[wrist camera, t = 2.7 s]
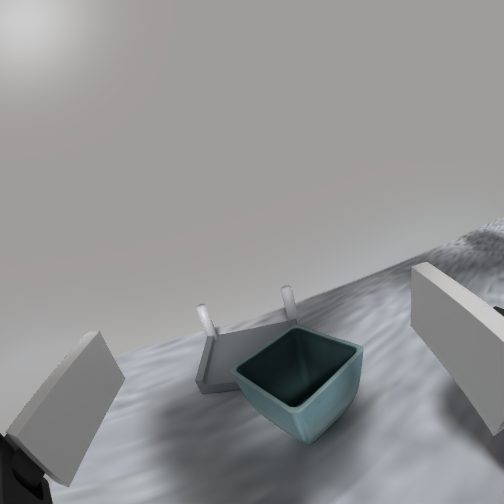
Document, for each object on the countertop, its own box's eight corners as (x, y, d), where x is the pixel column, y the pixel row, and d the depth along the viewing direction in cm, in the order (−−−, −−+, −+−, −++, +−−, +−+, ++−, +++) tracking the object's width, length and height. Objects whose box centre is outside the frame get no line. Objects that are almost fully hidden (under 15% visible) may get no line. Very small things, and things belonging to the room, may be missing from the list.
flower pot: (251, 425, 27) (226, 368, 24) (307, 381, 31) (294, 322, 29) (309, 467, 20) (294, 414, 17) (366, 409, 24) (365, 346, 22)
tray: (299, 326, 44) (290, 284, 41) (311, 375, 32) (302, 328, 30) (212, 343, 45) (197, 305, 43) (200, 394, 33) (178, 351, 31)
